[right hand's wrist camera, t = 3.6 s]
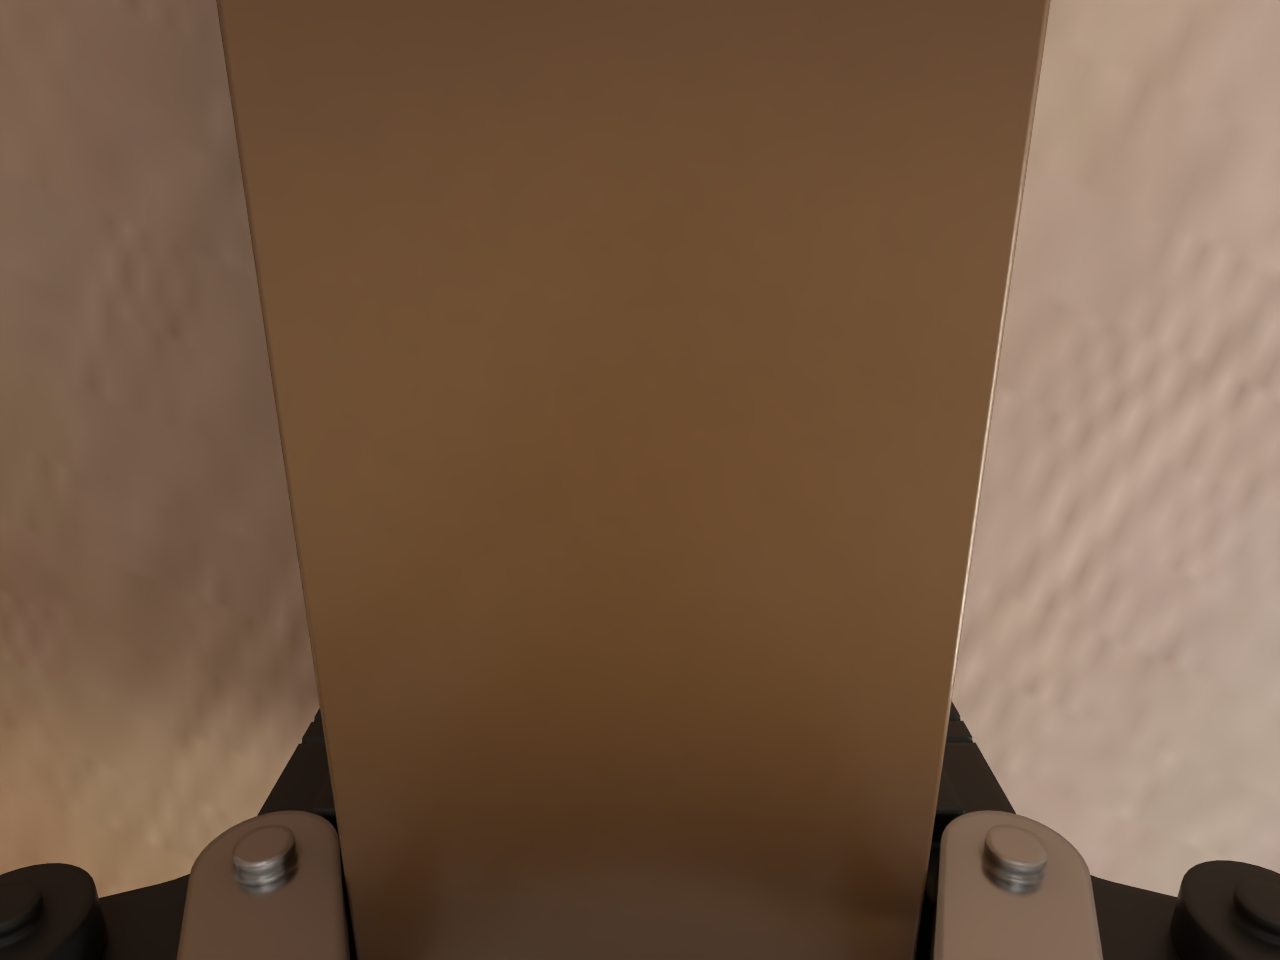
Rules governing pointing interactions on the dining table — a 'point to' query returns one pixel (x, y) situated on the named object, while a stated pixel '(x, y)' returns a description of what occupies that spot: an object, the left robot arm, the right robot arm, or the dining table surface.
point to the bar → (634, 448)
